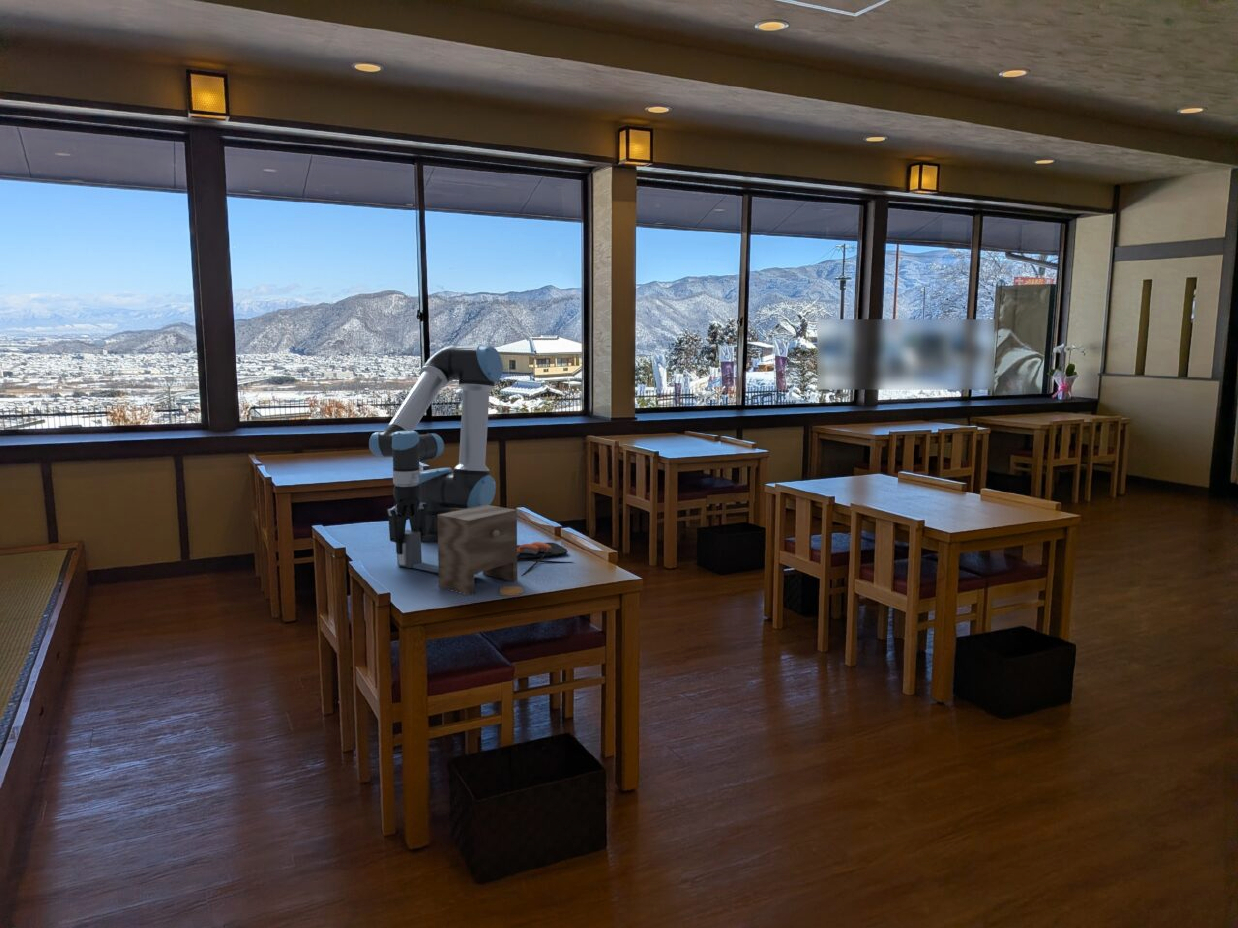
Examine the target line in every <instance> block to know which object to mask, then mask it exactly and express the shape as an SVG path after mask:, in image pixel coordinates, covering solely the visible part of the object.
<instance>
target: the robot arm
mask: <svg viewBox="0 0 1238 928" xmlns="http://www.w3.org/2000/svg"><path fill="white" fill-rule="evenodd" d="M503 367H504V366H503V360H502V357H501V355H500V352H499V351H498V350H497V348H496V347H494V346H491V345H485V344H451V345H450V344H449V345H446V346H445V347H442V348H441V349H439V350H437V351H436V352H435V353H433V355H431V356H430V357H429V358H428V359H427V361H425V362H424V364H423V366H422V367H421V369H420V370H419V377H418V379H417V380H416V381H415V383H414V384H413V387H412V388H411V389H410V391H409V392H408V394H407V395H406V397H405V399H404V400H403V401H402V402H401V405H400V406H399V407H398V409H397V411H396V412H395V413H394V415H393V417H392V418H391V420H390V422H389V423H388V424H387V426H386V427H385V429H384V430H383V431H376V432H374V433H372V434H371V436H370V438H369V440H368V448H369V450H370V452H371V454H372V455H374V456H376V457H379V458H380V457H382V458H392V483H393V484H394V485H393V487H392V488H393V498H394V503H393V504H394V505H393V506H392V507H391V508H387V509H386V514H387V516H388V518H387V519H388V532H389V533H388V534H389V542H391V543H395V548H396V549H395V550H396V551H395V553H396V555H397V554H398V561H397V565H398V564H401V565H406V543H403V542H404V535H405V530H406V527H407V521H408V522H409V526H410V530H412V531H418V532H420V533H421V542H425V543H426V542H427V543H428V542H429V543H435V542H437V543H438V520H437V515H438V514H443V513H448V512H453V509H457V510H462V509H467V508H472V507H477V506H481V505H491V504H492V502H493V501H494V498H495V494H496V489H497V488H496V487H497V486H496V485H497V483H496V480H495V478H494V477H493V476H491V475H490V471H491V470H490V469H489V467H488V466H487V465H486V458H487V443H488V442H487V439H488V422H489V406H490V405H489V403H490V392H491V391H492V390H494V389H495V383H497V382H498V381H500V380H501V378H502V376H503ZM451 381H458V386H459V387H460V388H461V390H462V401H461V419H460V437H459V438H460V439H459V440H460V441H459V453H458V454H459V457H458V464H456V465H455V467H454V468H453V469H452V468H451V467H439V468H432V469H431V468H430V469H426V470H421V471H420V462H422V461H423V462H424V461H428V460H434V459H435V458H436V459H437V458H438V457H440V456H441V455H442V454H443V452H444V449H445V442H444V440H443V438H442V437H441V436H440V435H439V434H437V433H429V432H428V433H426V434H419V432H417V431H415V429H416V427H418V424H419V423H420V421H421V419H422V418H423V416H424V415H425V414H426V413H427V410H429V407H430V406H431V405H432V402H433V401H434V400H435V399H436V397H437V395H438V393H439V392H440V391H441V390H442V389H443V388H445V387H446V386H447V385H448V383H449V382H451Z"/></svg>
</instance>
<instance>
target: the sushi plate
mask: <svg viewBox="0 0 1238 928" xmlns="http://www.w3.org/2000/svg"><path fill="white" fill-rule="evenodd" d="M568 551H569V550H568V549H566V548H565V547H563V546H562V545H560V544H558V543H556V542H540V541H535V542H531V543H524V544H519V545H518V544H517V562H519V561H520V562H521V561H522V562H534V563H533V564H532V565H531V566H530V567H529V568H527V570H526V571H524V572H523V574H522V575H521V577H524V576H525V575H527V574H528V573H530V571H531V570H532V569H534V567H535V566H536V565H537V564H538V563H550V564H574V563H573V562H574V561H563V560H562V561H560V560H557V561H556V560H542V559H543V558H544V557H545V558H546V557H552V556H558V555H564V554H567V553H568ZM534 558H539V559H534ZM527 572H528V573H527ZM526 573H527V574H526ZM523 575H524V576H523Z"/></svg>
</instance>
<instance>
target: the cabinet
mask: <svg viewBox="0 0 1238 928" xmlns="http://www.w3.org/2000/svg"><path fill="white" fill-rule="evenodd" d="M437 520H438V542H437V559H438V563H437V566H438V568H439V573H438V588H440V589H443V590H444V589H445V590H448V591H451V590H453V591H452V592H455V591H457V592H456V593H459V592H461V593H460V594H463V593H465V594H464V595H466V594H468V595H467V596H473V595H475V575H476V574H475V573H479V574H480V573H482V575H484V576H488V577H494V578H498V579H502V580H506V581H510V582H516V581H518V560H517V545H518V510H517V509H513V508H507V507H502V506H498V505H497V506H496V505H491V504H490V505H481V506H477V507H472V508H467V509H457V510H454V511H453V512H448V513H443V514H438V515H437ZM474 574H475V575H474ZM472 594H473V595H472Z"/></svg>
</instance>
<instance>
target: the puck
mask: <svg viewBox="0 0 1238 928" xmlns="http://www.w3.org/2000/svg"><path fill="white" fill-rule="evenodd" d="M523 589H524V588H523V587H521V586H517V585H507V586H503V587H500V588H499V594H500V595H502V596H506V595H515V596H518V595H517V594H520V595H521V593H522V592H523V591H524V590H523ZM522 594H523V593H522Z"/></svg>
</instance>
